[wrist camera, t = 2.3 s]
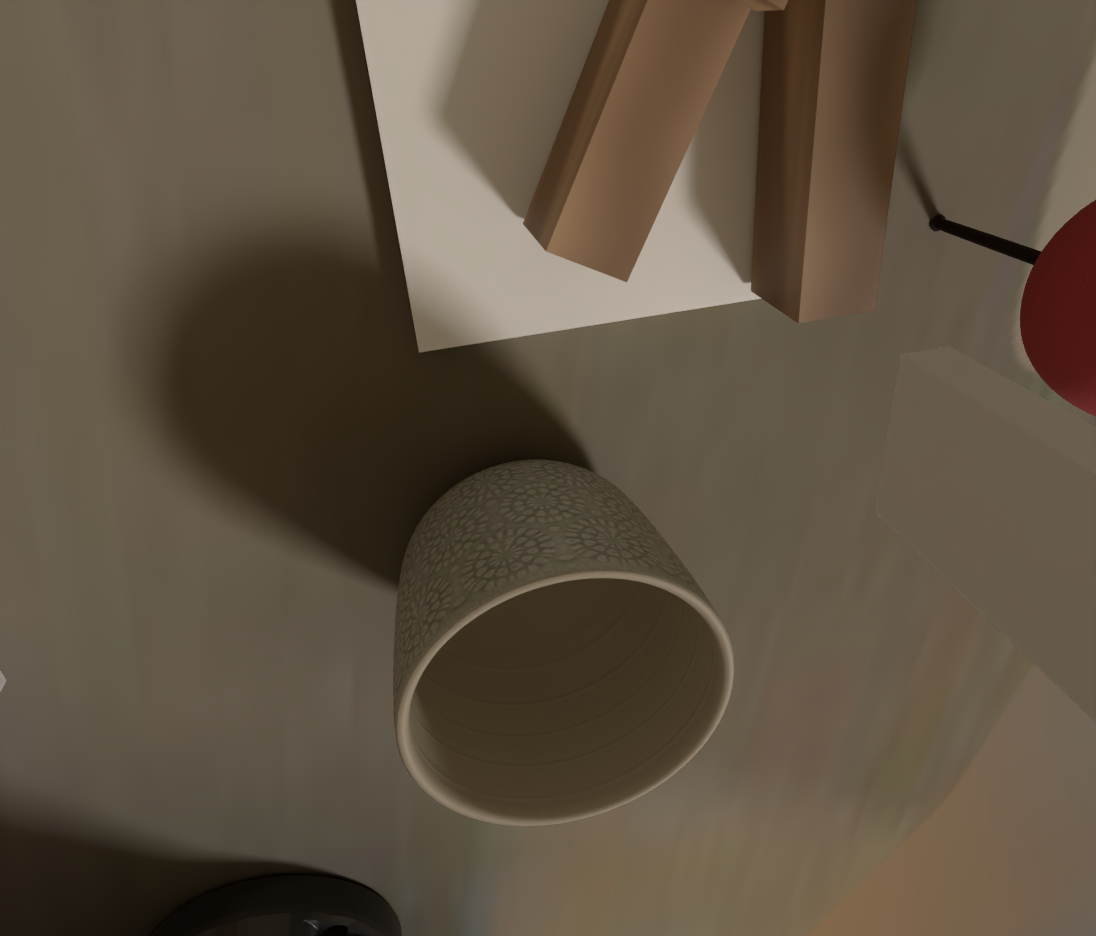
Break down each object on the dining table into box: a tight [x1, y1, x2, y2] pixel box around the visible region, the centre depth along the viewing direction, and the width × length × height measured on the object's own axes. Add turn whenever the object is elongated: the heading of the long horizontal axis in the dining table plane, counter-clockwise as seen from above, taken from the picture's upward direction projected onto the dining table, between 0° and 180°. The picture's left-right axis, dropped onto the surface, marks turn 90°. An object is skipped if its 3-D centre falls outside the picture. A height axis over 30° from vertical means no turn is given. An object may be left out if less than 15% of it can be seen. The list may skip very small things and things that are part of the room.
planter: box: [393, 460, 734, 826], centre depth 32 cm, size 12×12×11 cm
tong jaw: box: [523, 0, 788, 282], centre depth 24 cm, size 8×16×6 cm, turn 157°
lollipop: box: [931, 200, 1096, 416], centre depth 27 cm, size 8×8×15 cm
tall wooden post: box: [751, 0, 917, 323], centre depth 27 cm, size 4×15×6 cm, turn 5°
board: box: [356, 0, 765, 353], centre depth 28 cm, size 17×16×1 cm
